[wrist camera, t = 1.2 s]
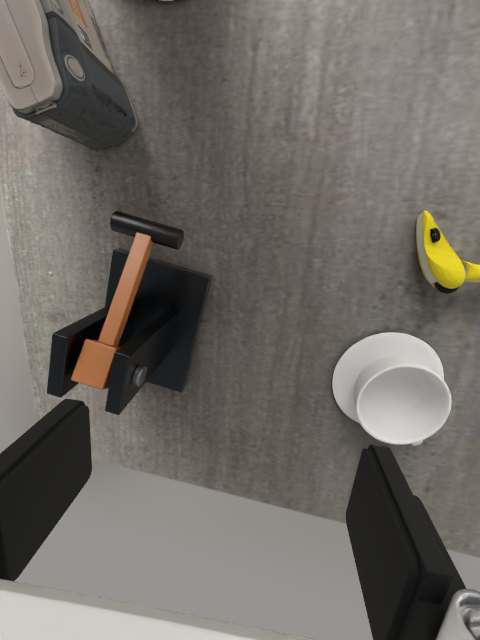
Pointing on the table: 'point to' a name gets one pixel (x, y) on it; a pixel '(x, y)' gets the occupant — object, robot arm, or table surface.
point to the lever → (122, 296)
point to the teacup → (393, 388)
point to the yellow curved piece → (441, 258)
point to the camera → (62, 72)
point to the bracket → (139, 333)
